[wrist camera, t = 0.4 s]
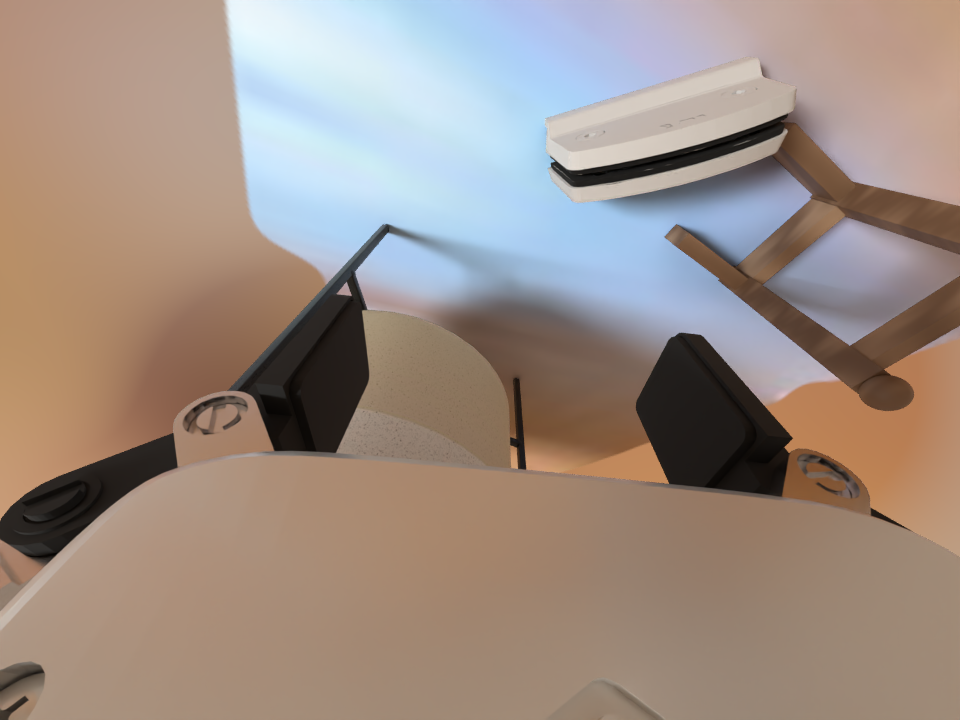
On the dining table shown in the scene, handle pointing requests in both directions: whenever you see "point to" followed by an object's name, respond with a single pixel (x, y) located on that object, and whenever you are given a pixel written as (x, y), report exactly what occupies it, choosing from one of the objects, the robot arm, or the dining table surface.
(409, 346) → the planter
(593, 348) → the dining table surface
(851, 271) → the dining table surface
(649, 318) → the dining table surface
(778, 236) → the brown wooden frame
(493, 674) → the robot arm
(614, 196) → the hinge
